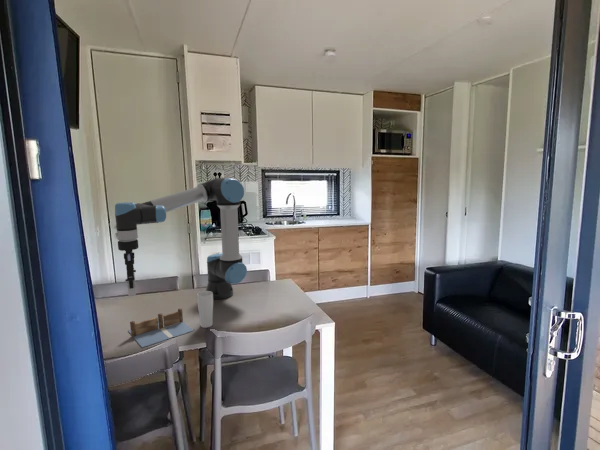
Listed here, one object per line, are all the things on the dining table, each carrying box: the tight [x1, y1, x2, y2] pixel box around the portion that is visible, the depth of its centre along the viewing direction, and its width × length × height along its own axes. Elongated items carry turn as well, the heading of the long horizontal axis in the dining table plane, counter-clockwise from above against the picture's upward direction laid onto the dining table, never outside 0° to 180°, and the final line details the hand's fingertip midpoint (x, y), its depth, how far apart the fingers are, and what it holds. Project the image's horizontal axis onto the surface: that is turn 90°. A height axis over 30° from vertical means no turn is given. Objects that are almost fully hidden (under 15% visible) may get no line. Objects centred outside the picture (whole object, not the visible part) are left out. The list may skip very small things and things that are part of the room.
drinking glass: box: [196, 290, 214, 329], centre depth 147 cm, size 7×7×15 cm
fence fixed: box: [163, 307, 184, 327], centre depth 148 cm, size 2×8×6 cm, turn 132°
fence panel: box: [129, 313, 164, 338], centre depth 141 cm, size 13×2×6 cm, turn 132°
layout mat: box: [127, 319, 194, 349], centre depth 143 cm, size 19×21×1 cm
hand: (132, 291), depth 141 cm, fingers open, 10 cm apart
